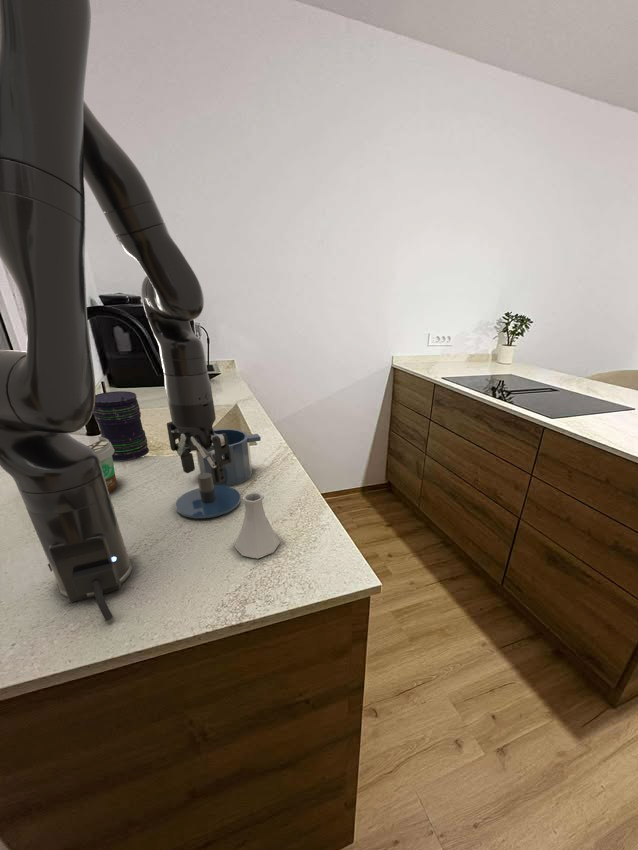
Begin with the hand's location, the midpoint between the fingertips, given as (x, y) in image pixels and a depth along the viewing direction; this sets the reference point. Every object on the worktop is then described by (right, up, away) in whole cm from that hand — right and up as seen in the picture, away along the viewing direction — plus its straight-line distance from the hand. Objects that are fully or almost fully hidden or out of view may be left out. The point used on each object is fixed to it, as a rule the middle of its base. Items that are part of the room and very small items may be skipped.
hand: (204, 477), depth 77 cm
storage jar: (-29, +6, +23) cm, 38 cm away
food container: (-24, -3, +6) cm, 25 cm away
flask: (+13, -12, -9) cm, 20 cm away
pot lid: (0, -5, +2) cm, 5 cm away
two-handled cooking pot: (0, +1, +14) cm, 14 cm away
